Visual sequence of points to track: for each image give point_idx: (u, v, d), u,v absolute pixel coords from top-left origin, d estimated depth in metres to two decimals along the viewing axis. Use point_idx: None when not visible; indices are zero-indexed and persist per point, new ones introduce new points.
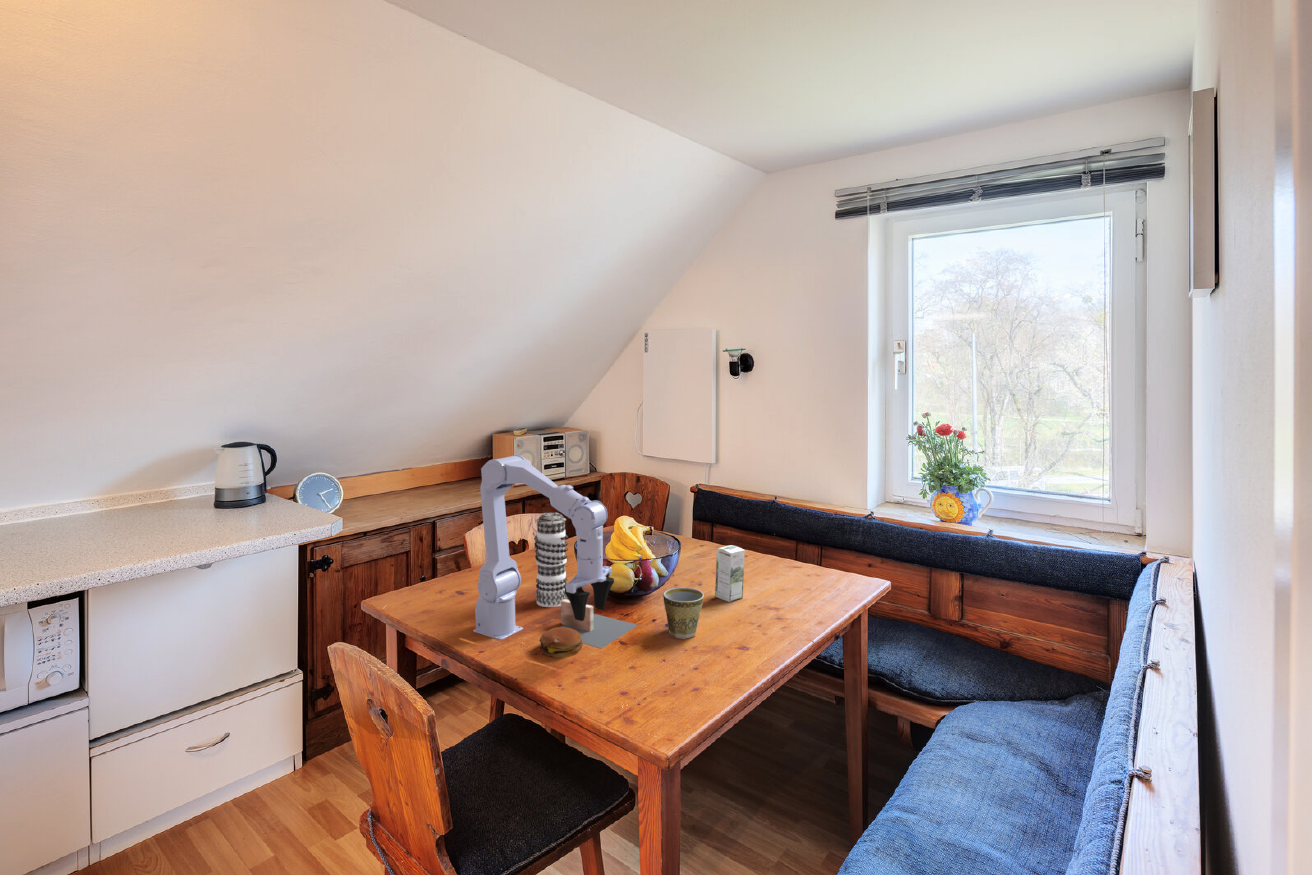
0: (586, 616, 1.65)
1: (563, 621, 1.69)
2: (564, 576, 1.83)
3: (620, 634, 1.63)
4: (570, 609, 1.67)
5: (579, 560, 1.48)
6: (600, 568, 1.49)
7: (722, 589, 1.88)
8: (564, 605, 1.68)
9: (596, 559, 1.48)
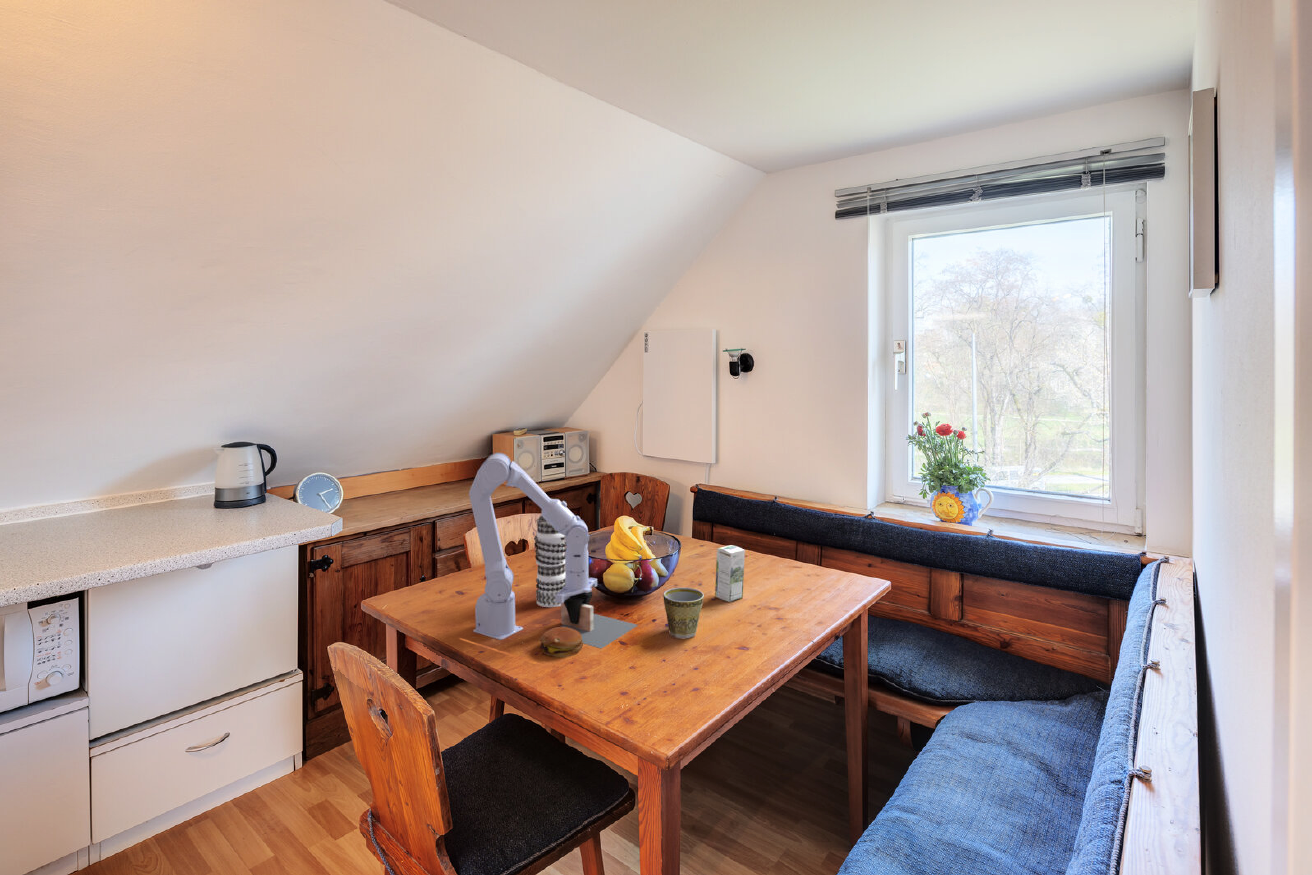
0: (586, 616, 1.65)
1: (563, 621, 1.69)
2: (564, 576, 1.83)
3: (620, 634, 1.63)
4: None
5: (567, 573, 1.64)
6: (586, 580, 1.65)
7: (722, 589, 1.88)
8: (564, 605, 1.68)
9: (582, 572, 1.64)
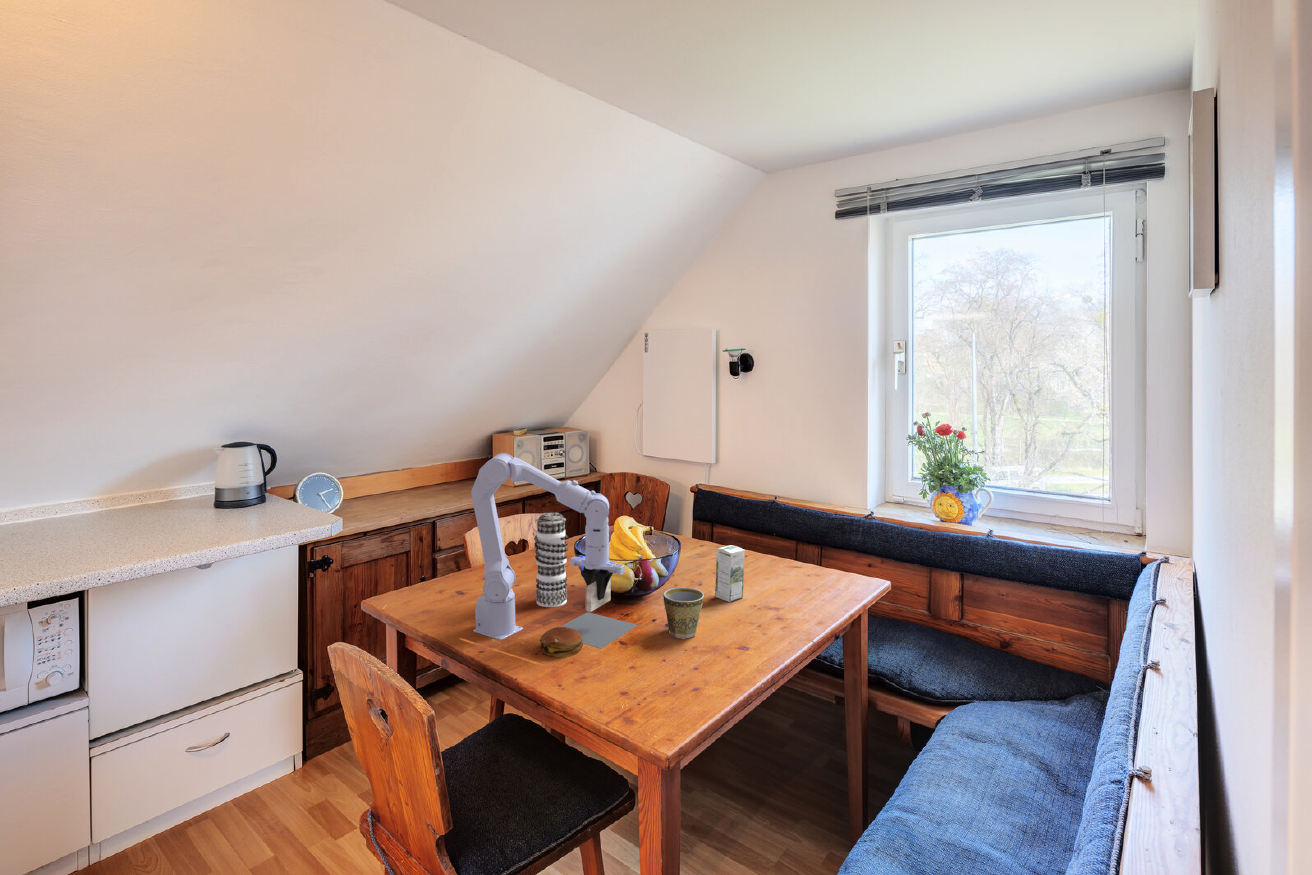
0: None
1: None
2: (564, 576, 1.83)
3: (620, 634, 1.63)
4: None
5: None
6: (591, 557, 1.61)
7: (722, 589, 1.88)
8: None
9: (587, 546, 1.61)
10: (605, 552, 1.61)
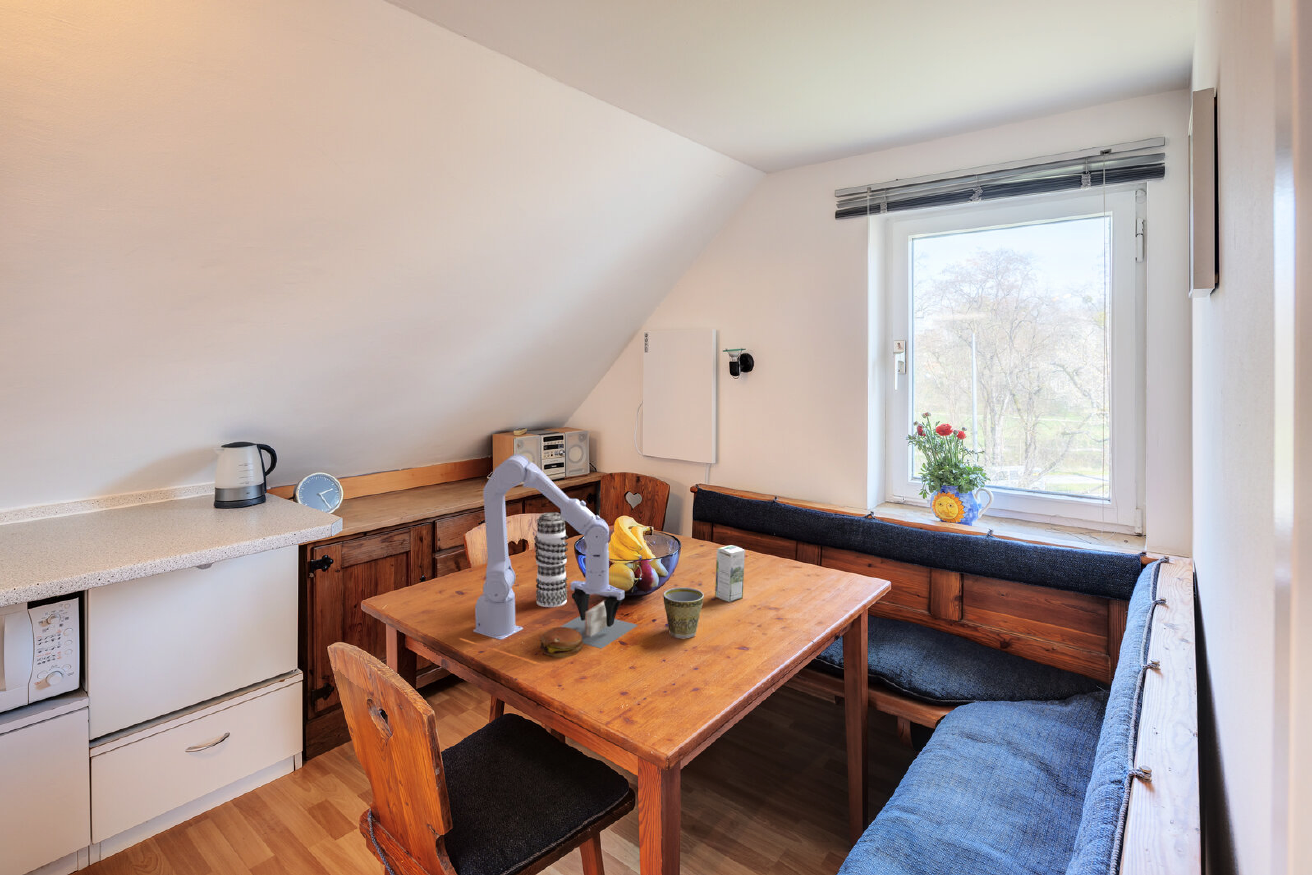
0: None
1: None
2: (564, 576, 1.83)
3: (620, 634, 1.63)
4: None
5: None
6: (591, 582, 1.62)
7: (722, 589, 1.88)
8: None
9: (587, 571, 1.62)
10: (605, 577, 1.62)
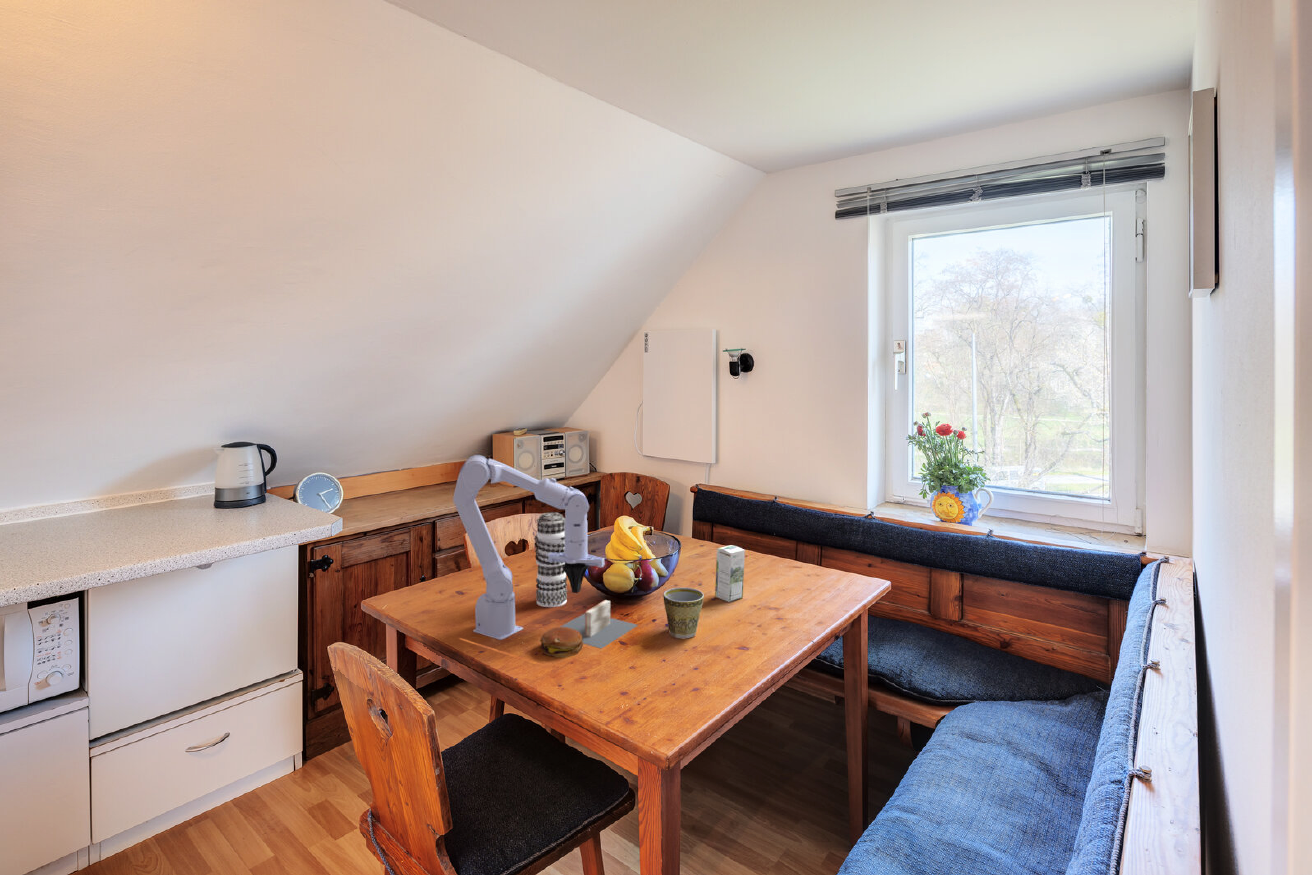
0: None
1: None
2: (564, 576, 1.83)
3: (620, 634, 1.63)
4: None
5: None
6: (571, 551, 1.64)
7: (722, 589, 1.88)
8: None
9: (567, 541, 1.64)
10: (585, 546, 1.65)
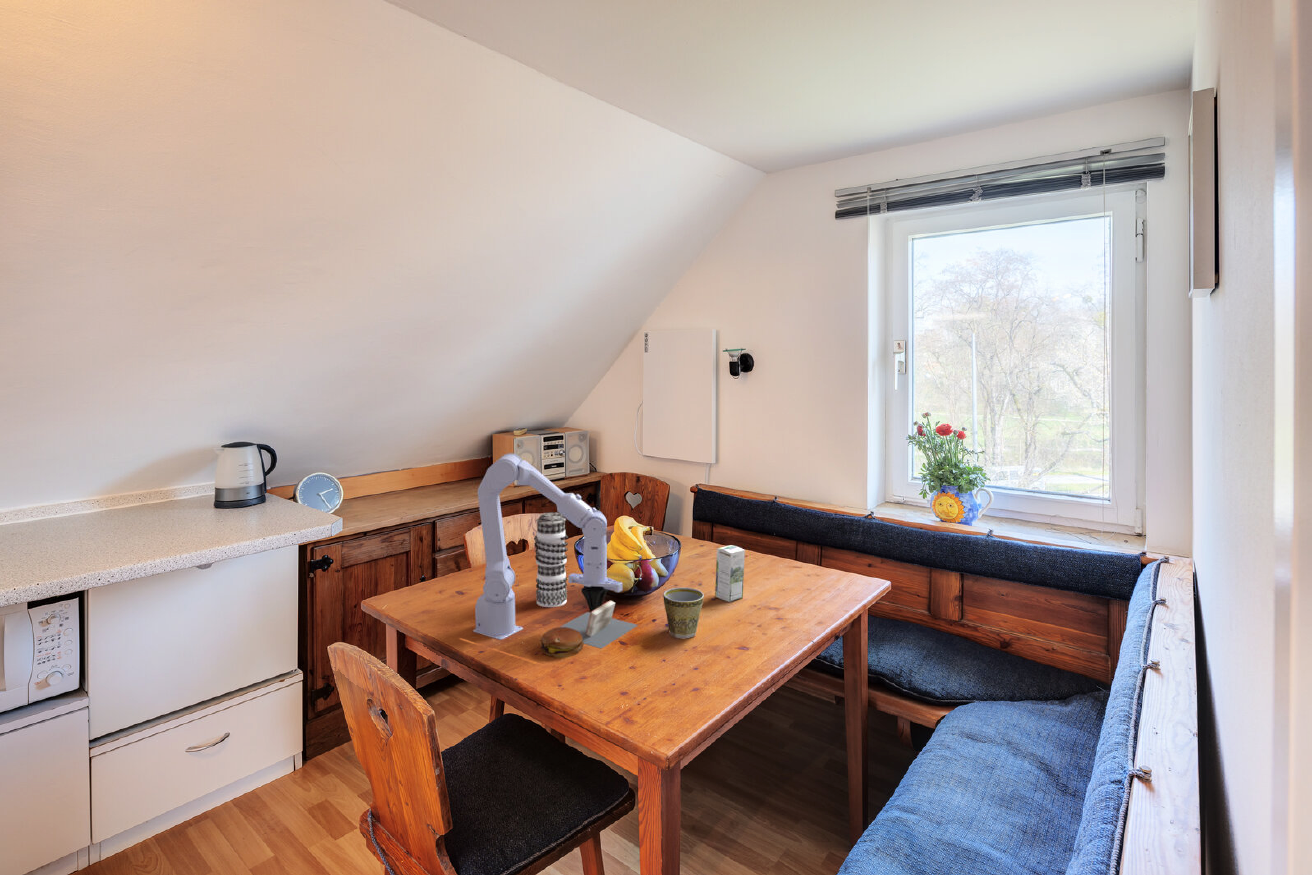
0: None
1: None
2: (564, 576, 1.83)
3: (620, 634, 1.63)
4: None
5: None
6: (589, 574, 1.62)
7: (722, 589, 1.88)
8: None
9: (585, 564, 1.62)
10: (602, 569, 1.62)
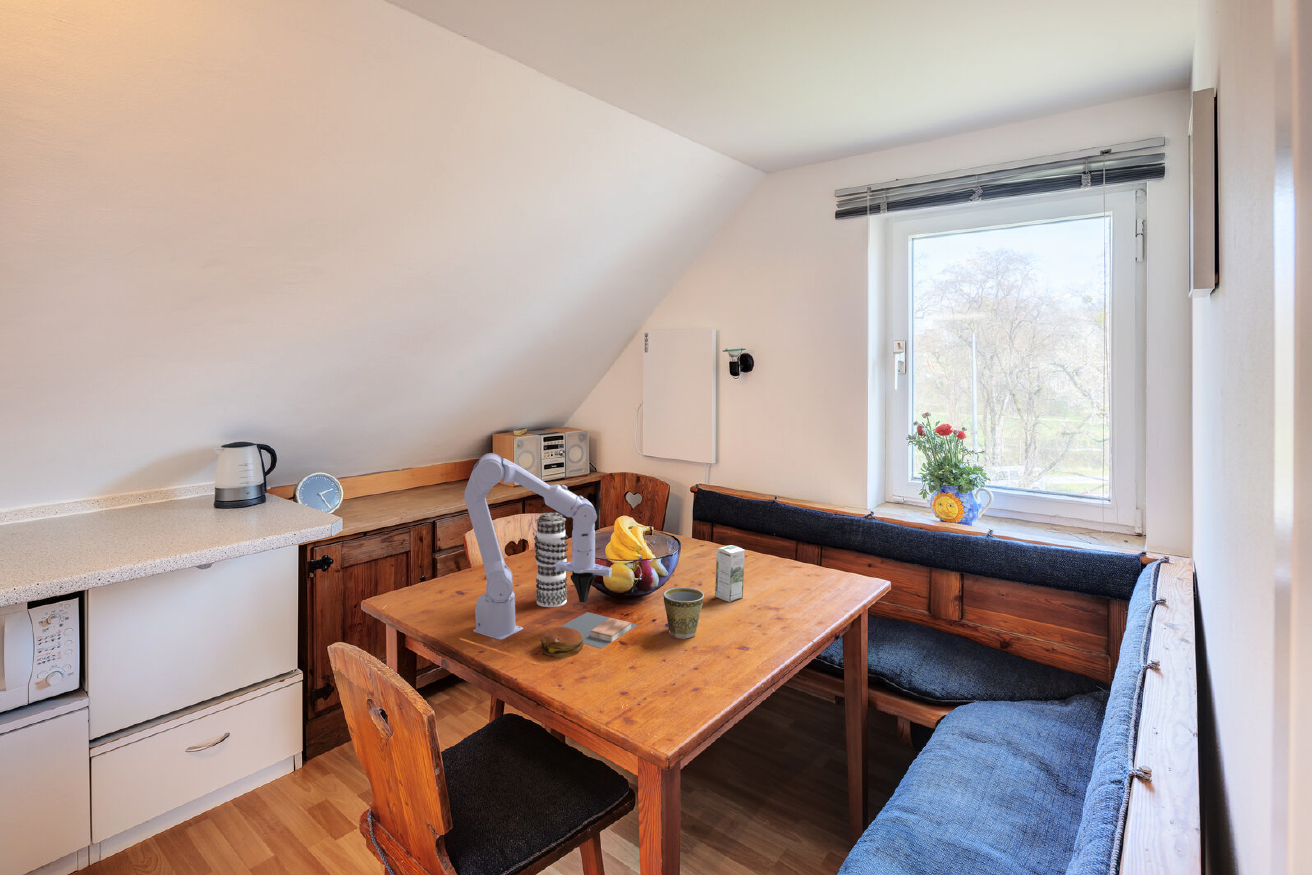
0: (605, 632, 1.61)
1: (611, 619, 1.69)
2: (564, 576, 1.83)
3: None
4: (619, 625, 1.65)
5: None
6: (579, 561, 1.65)
7: (722, 589, 1.88)
8: (625, 623, 1.66)
9: (575, 551, 1.65)
10: (592, 556, 1.66)
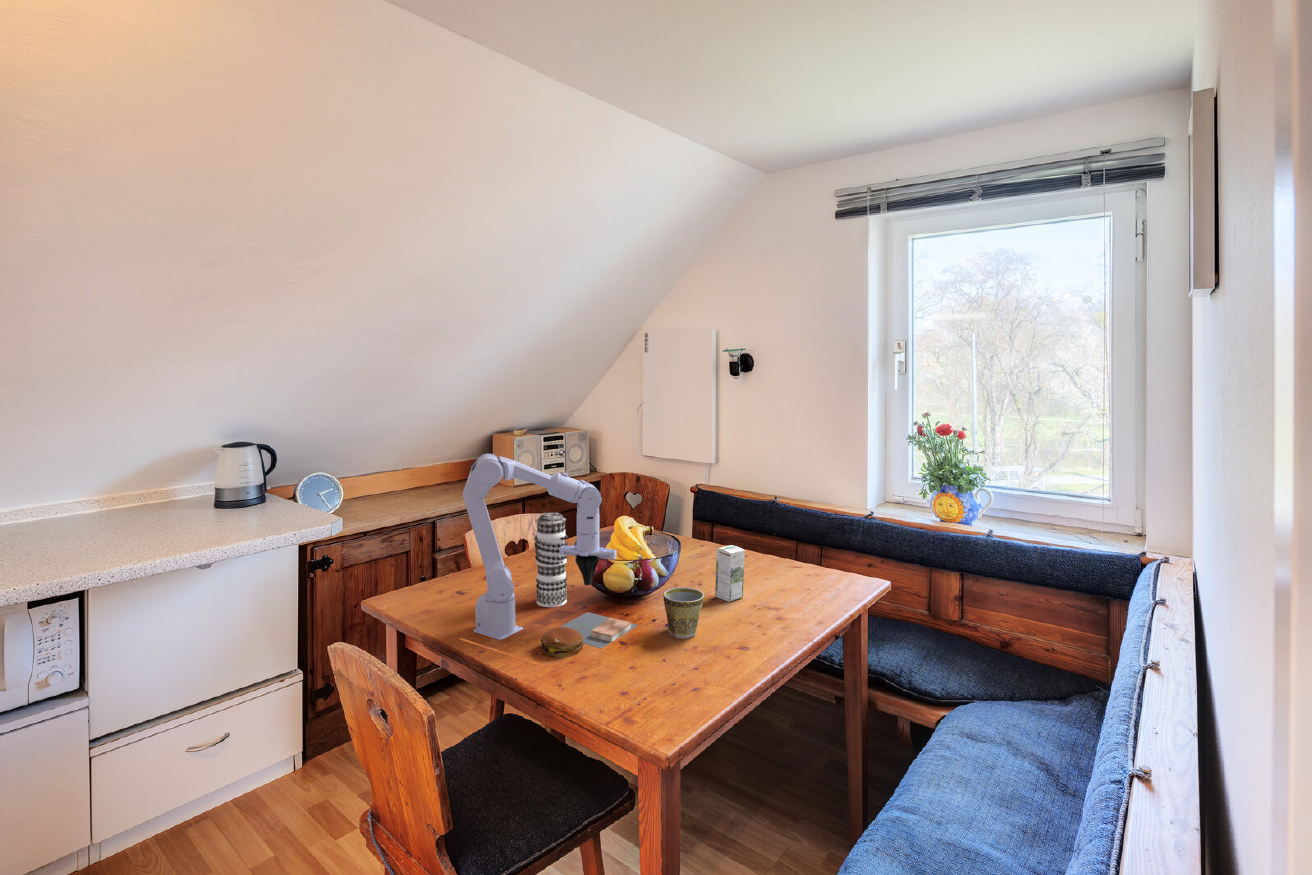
0: (605, 632, 1.61)
1: (611, 619, 1.69)
2: (564, 576, 1.83)
3: None
4: (619, 625, 1.65)
5: None
6: (584, 544, 1.66)
7: (722, 589, 1.88)
8: (625, 623, 1.66)
9: (580, 534, 1.66)
10: (597, 539, 1.67)
